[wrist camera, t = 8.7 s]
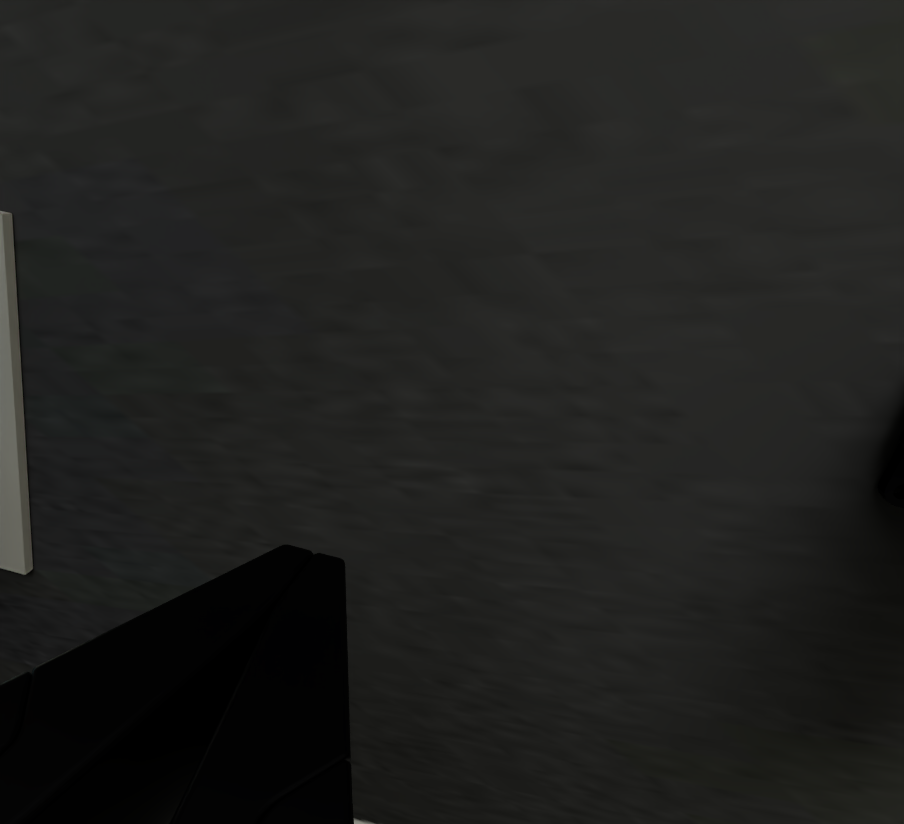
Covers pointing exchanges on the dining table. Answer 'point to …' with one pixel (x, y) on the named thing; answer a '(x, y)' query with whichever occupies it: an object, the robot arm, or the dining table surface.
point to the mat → (12, 419)
